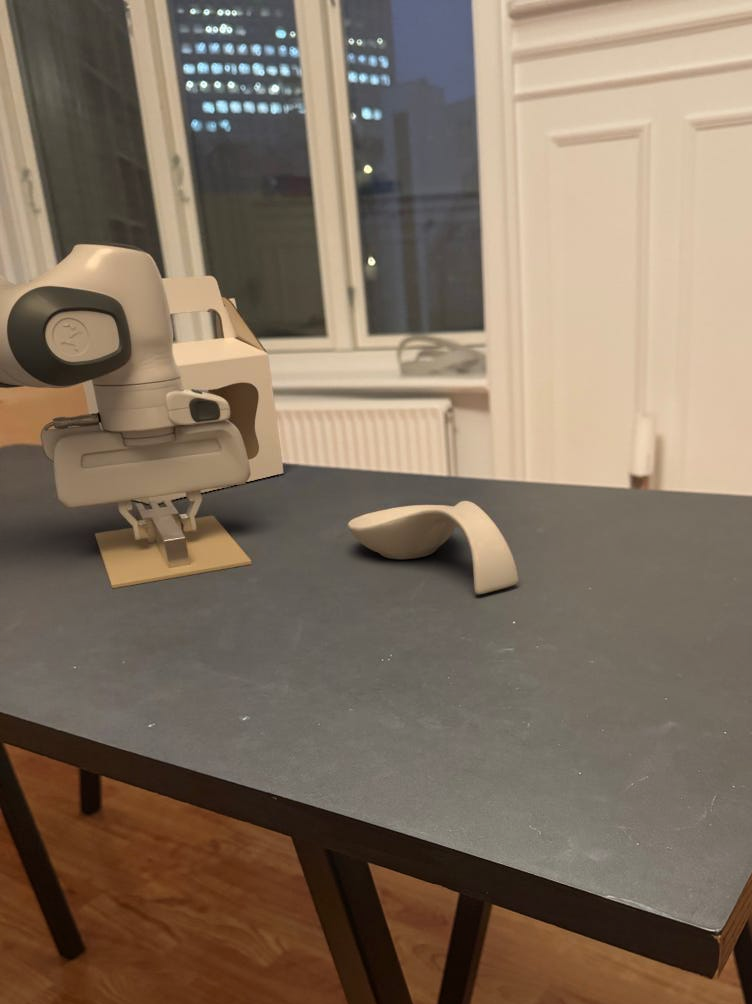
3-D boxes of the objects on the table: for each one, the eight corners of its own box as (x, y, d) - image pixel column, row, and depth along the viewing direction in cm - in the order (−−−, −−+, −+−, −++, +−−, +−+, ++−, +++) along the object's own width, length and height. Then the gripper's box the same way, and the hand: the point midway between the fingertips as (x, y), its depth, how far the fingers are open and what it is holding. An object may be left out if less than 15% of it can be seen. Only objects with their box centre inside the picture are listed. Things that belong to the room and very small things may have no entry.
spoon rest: (332, 549, 100) (325, 485, 98) (425, 529, 106) (420, 467, 103) (448, 608, 82) (443, 530, 79) (552, 579, 88) (550, 505, 85)
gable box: (236, 464, 146) (207, 275, 135) (286, 474, 138) (259, 273, 127) (103, 493, 131) (59, 284, 120) (150, 506, 123) (107, 282, 112)
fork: (199, 563, 97) (194, 535, 96) (159, 569, 95) (154, 542, 94) (173, 522, 113) (169, 498, 112) (139, 527, 111) (134, 503, 110)
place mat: (252, 564, 97) (251, 560, 97) (112, 588, 92) (111, 584, 91) (213, 518, 115) (213, 515, 115) (95, 536, 110) (94, 533, 110)
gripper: (36, 423, 91) (67, 557, 96) (243, 401, 99) (261, 526, 104) (35, 415, 96) (64, 542, 101) (231, 395, 104) (249, 514, 109)
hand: (165, 534), depth 103 cm, fingers open, 4 cm apart
